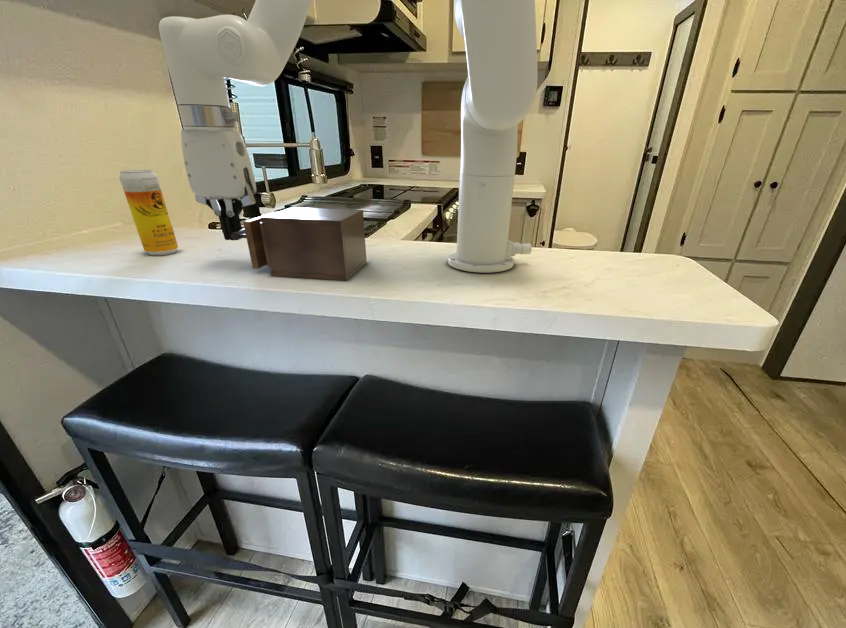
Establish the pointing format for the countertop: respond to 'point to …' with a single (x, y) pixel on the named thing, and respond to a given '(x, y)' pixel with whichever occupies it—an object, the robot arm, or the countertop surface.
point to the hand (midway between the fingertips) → (233, 238)
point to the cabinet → (315, 242)
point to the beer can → (149, 211)
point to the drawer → (254, 241)
